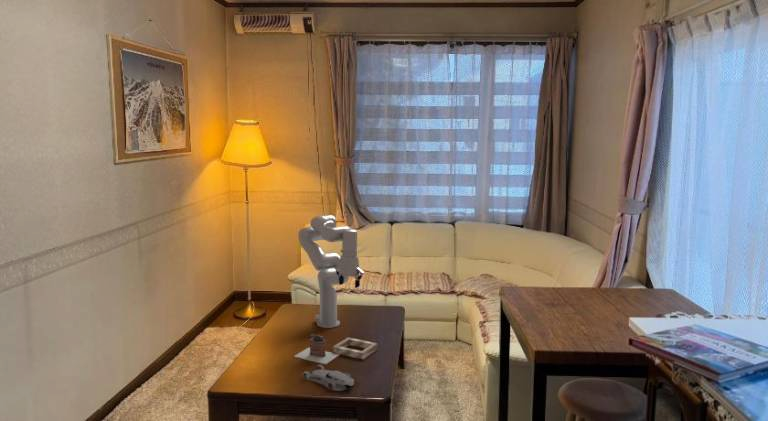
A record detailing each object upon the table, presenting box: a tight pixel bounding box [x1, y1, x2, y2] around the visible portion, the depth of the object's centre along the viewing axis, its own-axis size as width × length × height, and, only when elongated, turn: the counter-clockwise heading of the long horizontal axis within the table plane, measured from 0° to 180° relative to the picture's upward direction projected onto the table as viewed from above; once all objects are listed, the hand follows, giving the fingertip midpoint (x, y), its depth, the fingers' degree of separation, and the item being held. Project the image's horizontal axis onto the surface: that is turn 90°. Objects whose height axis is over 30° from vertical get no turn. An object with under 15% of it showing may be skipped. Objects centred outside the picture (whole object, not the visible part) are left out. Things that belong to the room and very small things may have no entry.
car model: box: [302, 364, 355, 392], centre depth 228 cm, size 11×24×5 cm, turn 54°
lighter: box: [309, 334, 327, 357], centre depth 253 cm, size 8×3×10 cm, turn 70°
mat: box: [293, 347, 341, 365], centre depth 254 cm, size 18×12×1 cm, turn 63°
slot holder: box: [332, 337, 379, 360], centre depth 260 cm, size 17×14×3 cm
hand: (349, 285), depth 275 cm, fingers open, 9 cm apart
